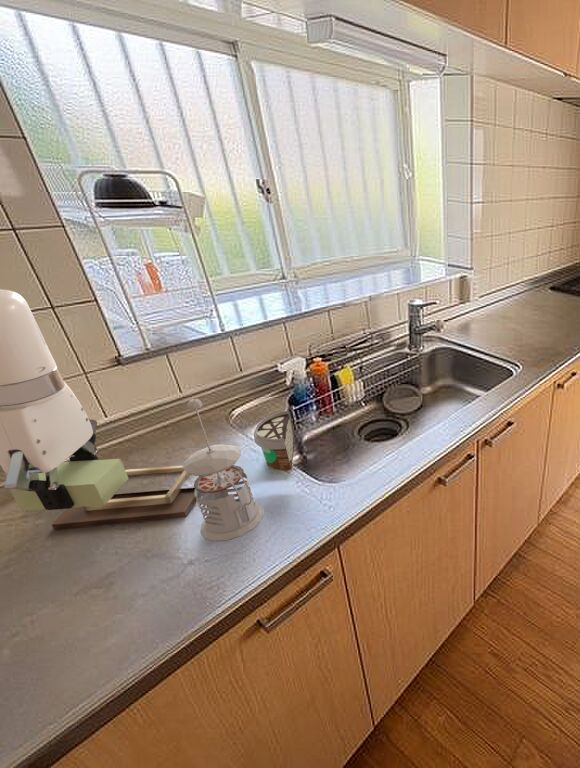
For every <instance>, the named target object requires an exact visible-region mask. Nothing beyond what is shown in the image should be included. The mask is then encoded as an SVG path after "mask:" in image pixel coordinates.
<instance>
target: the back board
mask: <svg viewBox="0 0 580 768" xmlns="http://www.w3.org/2000/svg"><path fill="white" fill-rule="evenodd" d="M125 471H126V473H127V476H138V475H140V476H141V475H152V474H164V473H165V474H166V473H175V472H176V473H178V472H181V474H180V476H179V477H178V478H177V479H176V480H175V482H174V484H173V485H172V486H171V488H170V489H162V490H161V489H160V490H149V491H138V492H127V493H126V492H125V493H115V494H114V495H113V497H112V498H111V499H110V500H109V501H108V502H107V503H106V504H105V505H99V506H86V507H73V508H70V509H65V510H64V512H63V513H61V514H60V515H59V516H58V517H57V519H55V521H53V522H52V523H51V527H52V528H53V529H54V530H63V529H75V528H84V527H95V526H105V525H114V524H115V525H116V524H125V523H137V522H146V521H147V522H148V521H157V520H167V519H177V518H186V517H187V516H188V515H189V514H190V512H191V510H192V509H193V507H194V505H195V504H196V503H197V500H196V497H195V494H194V492H195V487H185V488H181V487H182V486H183V484H184V483H185V482H186V480H187V479H188V477H189V476H190V475H191V474H188V473H186V472H185V470H184V469H183V465H170V466H169V465H168V466H158V467H143V468H130V469H125Z"/></svg>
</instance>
